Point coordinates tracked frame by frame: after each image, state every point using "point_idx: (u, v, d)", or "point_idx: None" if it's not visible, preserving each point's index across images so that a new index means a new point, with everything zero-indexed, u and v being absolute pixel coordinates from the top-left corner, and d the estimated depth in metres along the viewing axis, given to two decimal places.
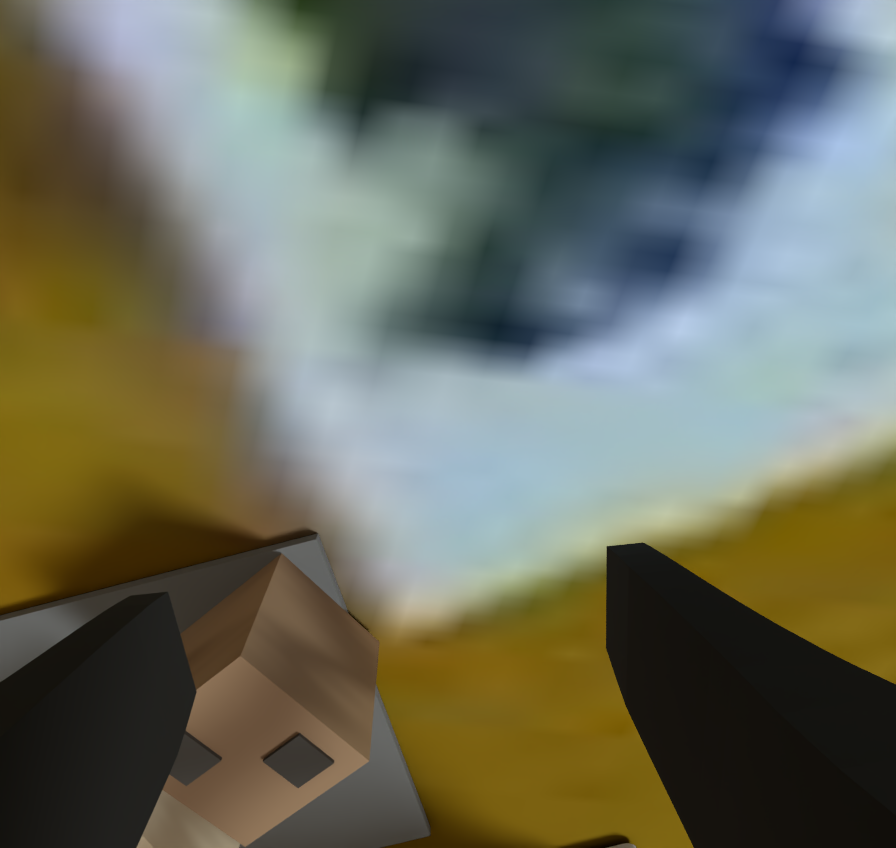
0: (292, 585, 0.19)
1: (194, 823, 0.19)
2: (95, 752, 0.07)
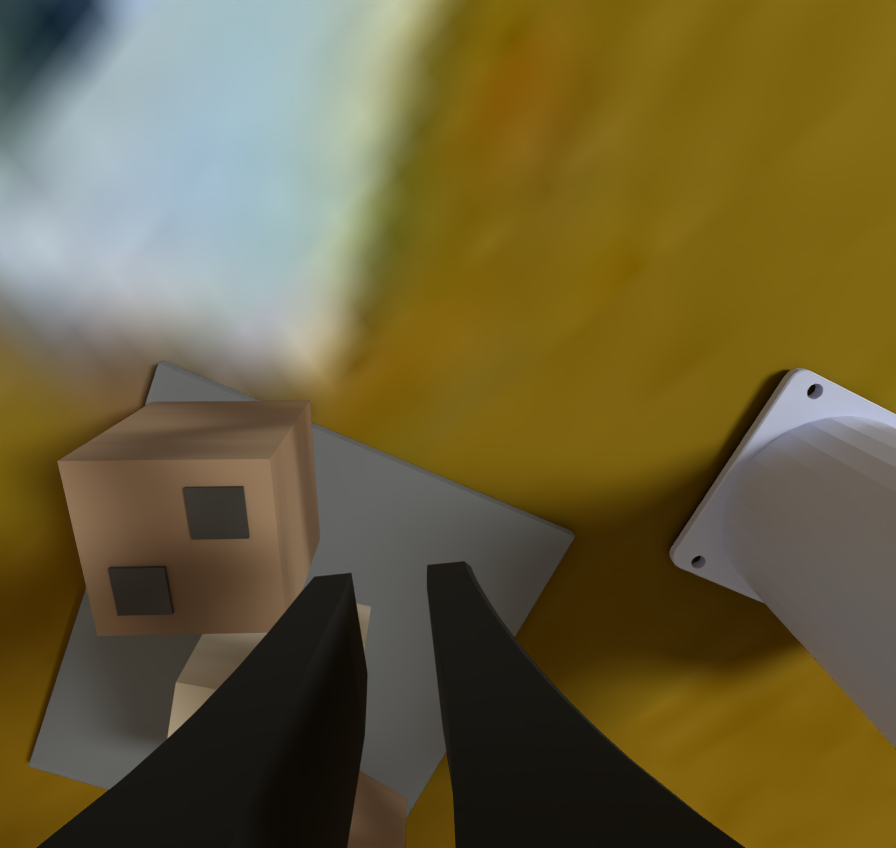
0: (164, 410, 0.18)
1: None
2: (330, 726, 0.07)
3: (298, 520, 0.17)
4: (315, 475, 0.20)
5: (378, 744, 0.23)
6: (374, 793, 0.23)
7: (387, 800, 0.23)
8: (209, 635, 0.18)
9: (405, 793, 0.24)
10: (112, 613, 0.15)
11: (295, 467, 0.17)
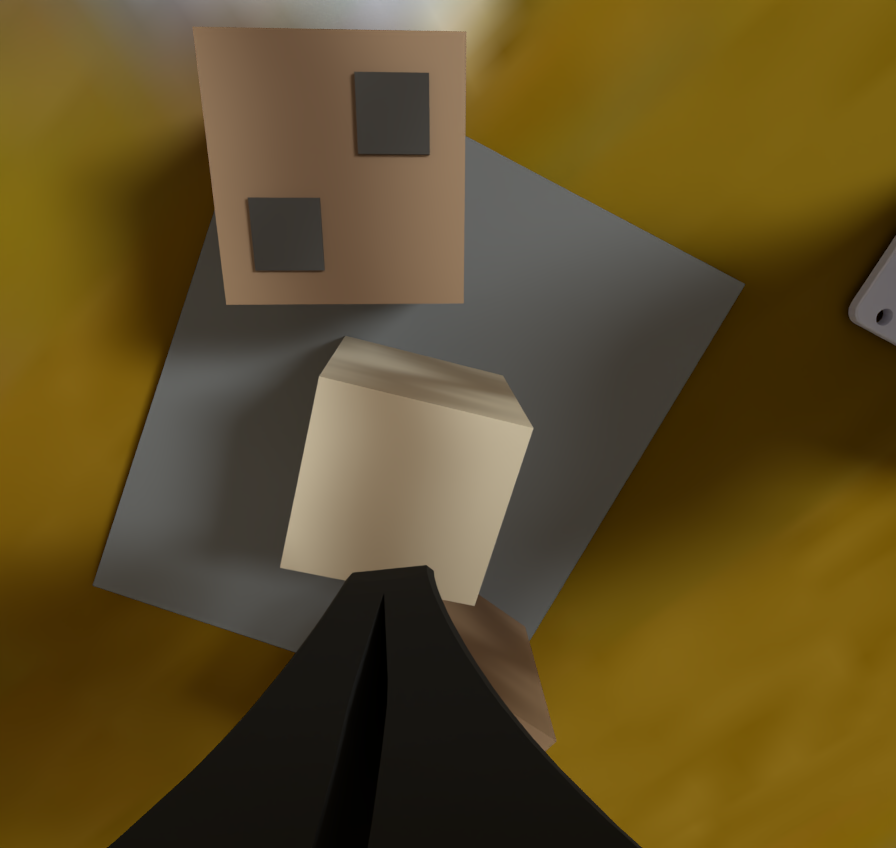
0: None
1: (432, 386, 0.15)
2: (378, 721, 0.07)
3: None
4: None
5: (498, 557, 0.20)
6: (494, 614, 0.20)
7: (507, 623, 0.20)
8: (339, 358, 0.15)
9: (523, 621, 0.21)
10: (248, 269, 0.12)
11: None
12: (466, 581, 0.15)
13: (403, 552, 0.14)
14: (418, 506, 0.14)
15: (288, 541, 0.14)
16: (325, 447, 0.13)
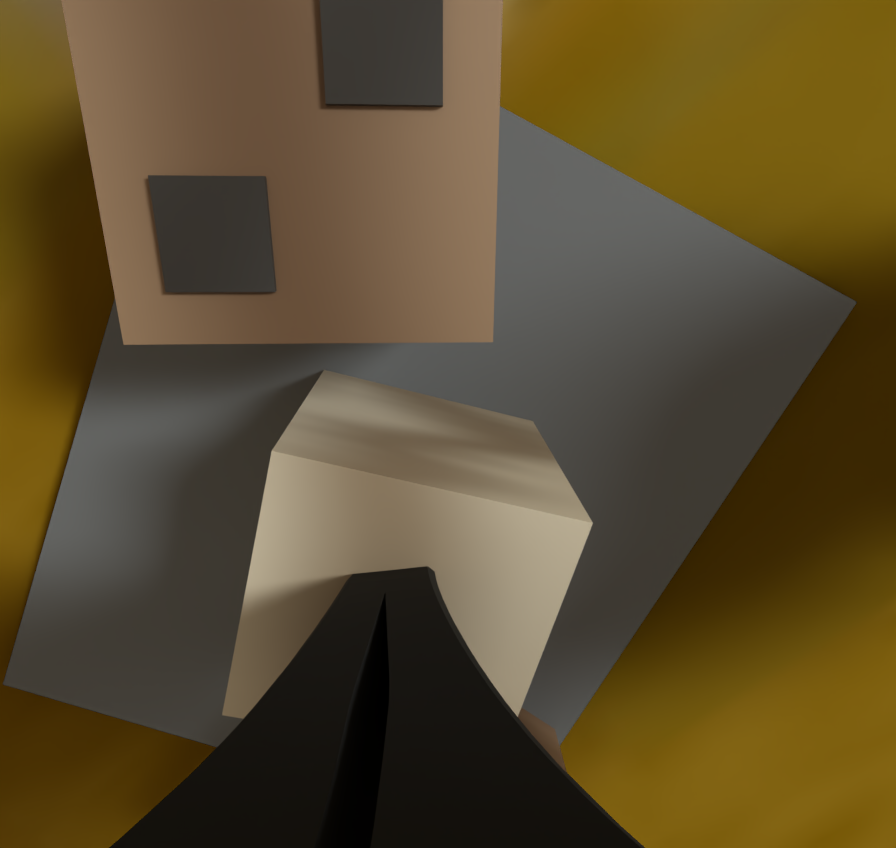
0: None
1: (442, 453, 0.10)
2: (379, 720, 0.07)
3: None
4: None
5: None
6: None
7: (533, 730, 0.16)
8: (310, 412, 0.10)
9: (553, 722, 0.17)
10: (154, 290, 0.08)
11: None
12: None
13: None
14: None
15: (233, 680, 0.10)
16: (283, 552, 0.09)
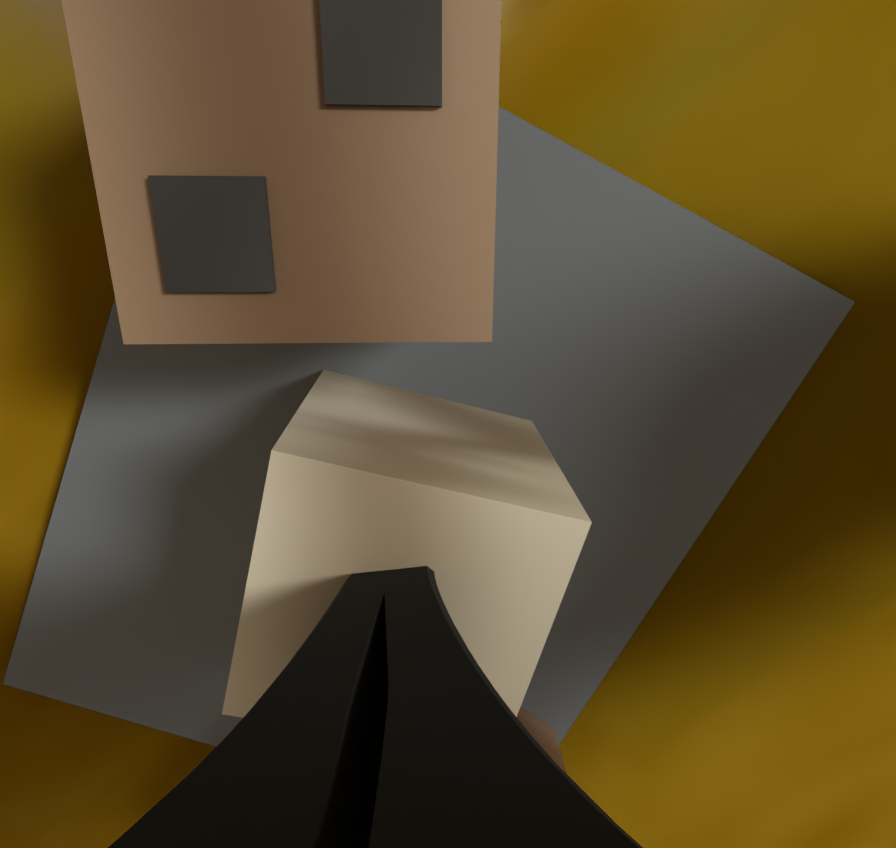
0: None
1: (441, 452, 0.10)
2: (379, 721, 0.07)
3: None
4: None
5: None
6: None
7: (532, 729, 0.16)
8: (309, 411, 0.10)
9: (552, 721, 0.17)
10: (154, 290, 0.08)
11: None
12: None
13: None
14: None
15: (232, 679, 0.10)
16: (283, 551, 0.09)
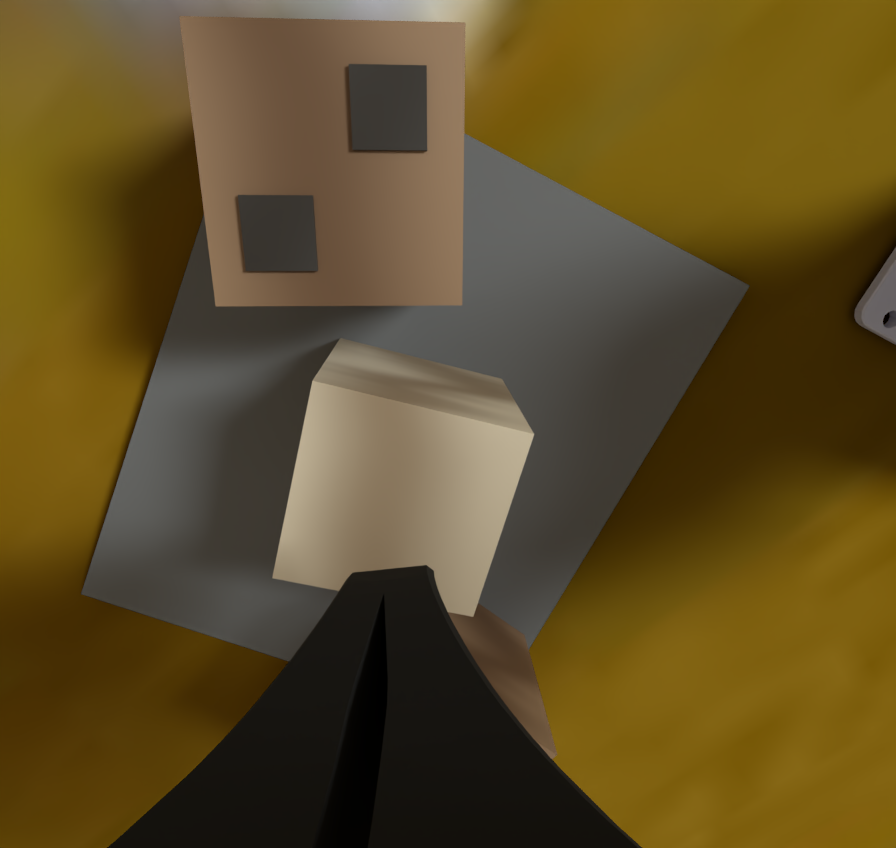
0: None
1: (429, 391, 0.14)
2: (378, 721, 0.07)
3: None
4: None
5: (496, 564, 0.20)
6: (492, 622, 0.20)
7: (506, 632, 0.20)
8: (334, 362, 0.14)
9: (523, 629, 0.21)
10: (238, 269, 0.11)
11: None
12: (465, 592, 0.14)
13: (399, 562, 0.14)
14: (415, 514, 0.13)
15: (281, 551, 0.14)
16: (318, 454, 0.13)
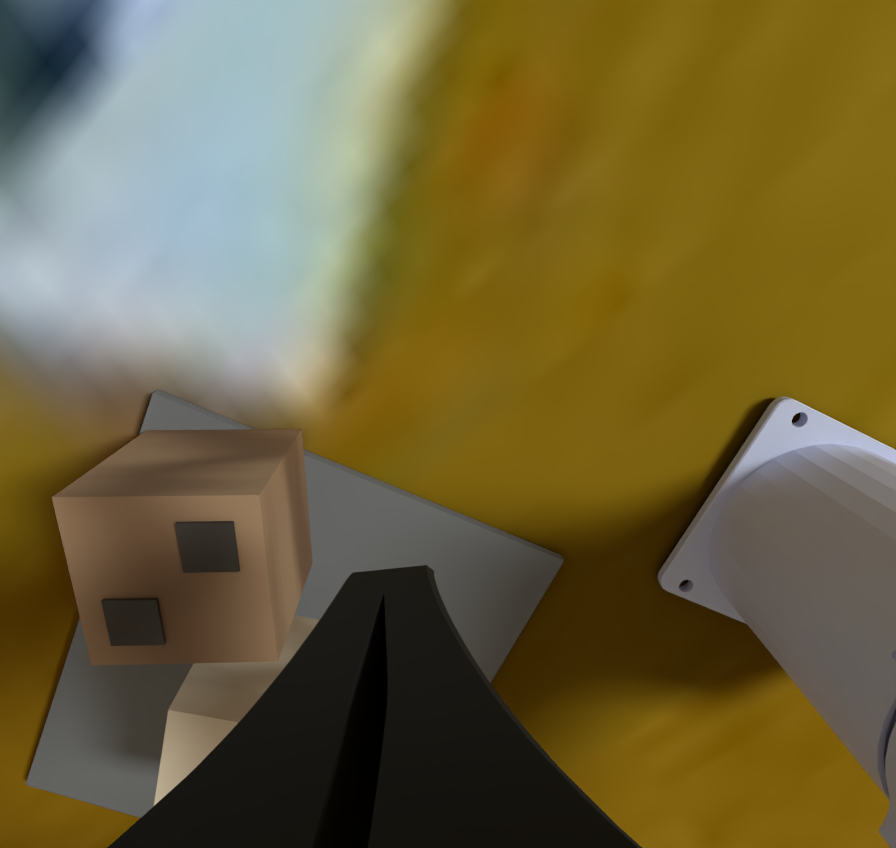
0: (158, 440, 0.18)
1: None
2: (378, 721, 0.07)
3: (289, 549, 0.17)
4: (307, 501, 0.20)
5: None
6: None
7: None
8: None
9: None
10: (105, 643, 0.15)
11: (286, 497, 0.17)
12: None
13: None
14: None
15: None
16: (177, 756, 0.17)
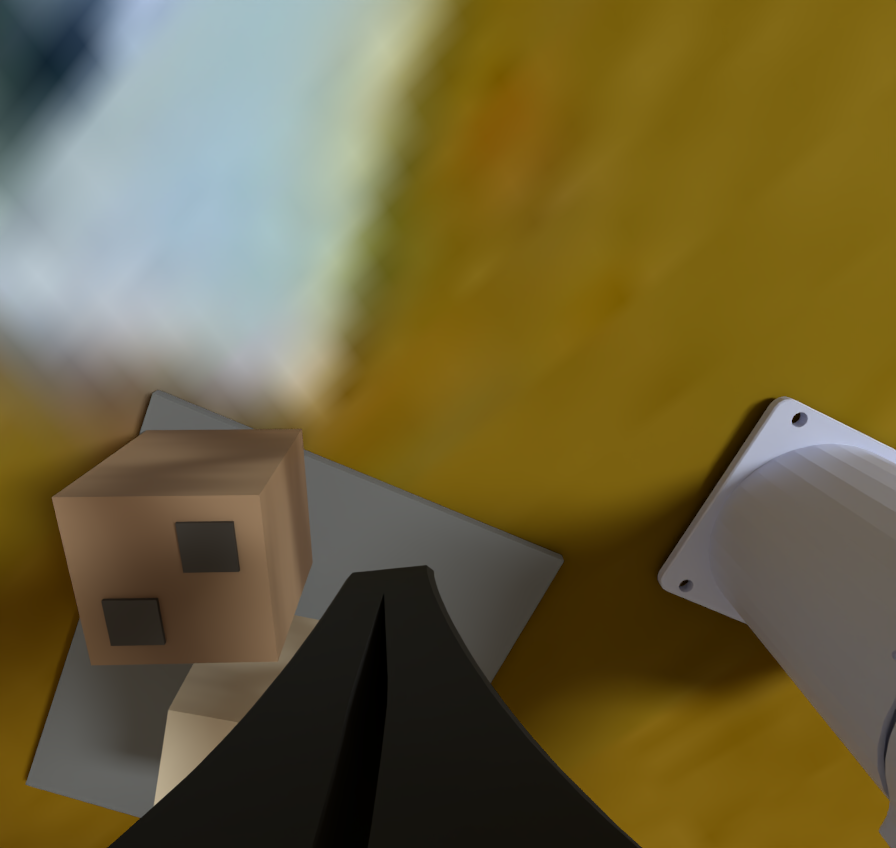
0: (158, 440, 0.18)
1: None
2: (378, 721, 0.07)
3: (289, 549, 0.17)
4: (307, 501, 0.20)
5: None
6: None
7: None
8: None
9: None
10: (105, 643, 0.15)
11: (286, 497, 0.17)
12: None
13: None
14: None
15: None
16: (177, 756, 0.17)
